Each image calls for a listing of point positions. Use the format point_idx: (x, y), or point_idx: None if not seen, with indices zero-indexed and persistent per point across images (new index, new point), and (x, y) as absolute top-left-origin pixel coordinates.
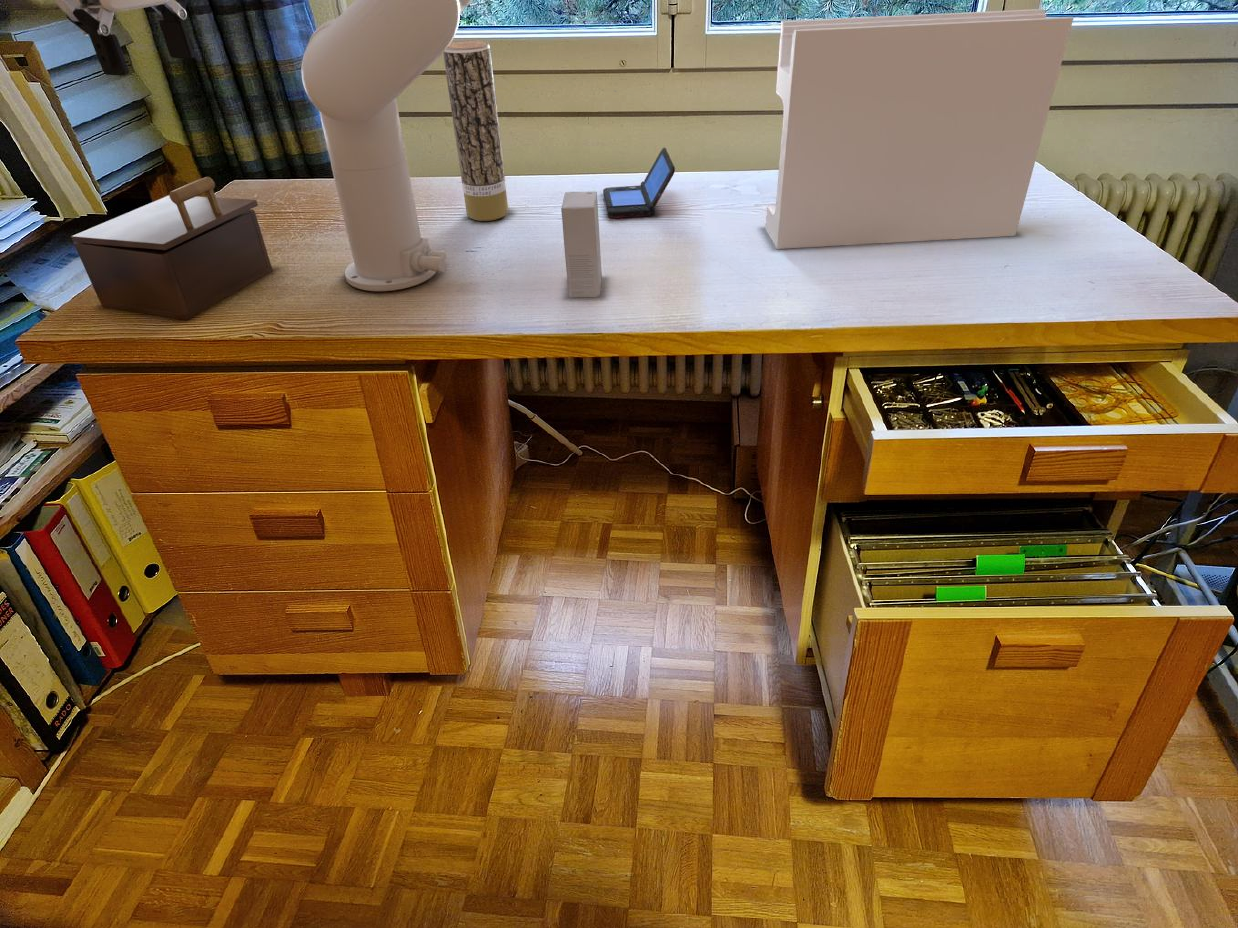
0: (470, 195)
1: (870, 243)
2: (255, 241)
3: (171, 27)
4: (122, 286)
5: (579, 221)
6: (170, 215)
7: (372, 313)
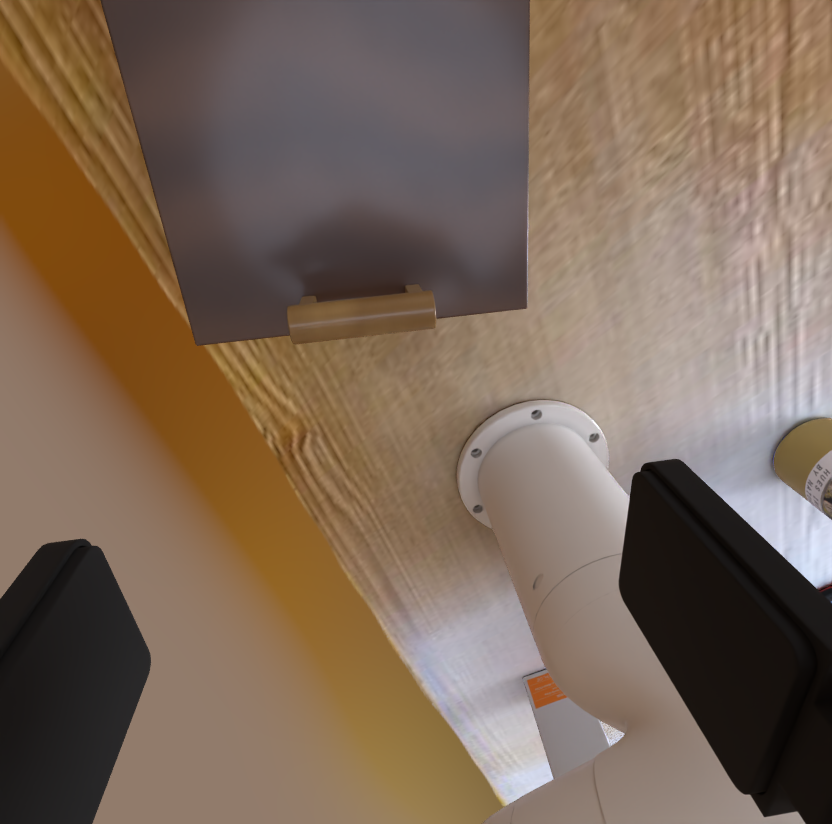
0: (810, 472)
1: None
2: None
3: (737, 706)
4: None
5: None
6: (360, 149)
7: (397, 526)
